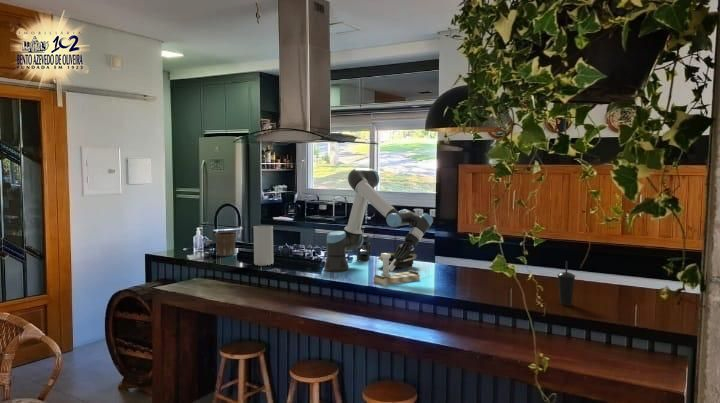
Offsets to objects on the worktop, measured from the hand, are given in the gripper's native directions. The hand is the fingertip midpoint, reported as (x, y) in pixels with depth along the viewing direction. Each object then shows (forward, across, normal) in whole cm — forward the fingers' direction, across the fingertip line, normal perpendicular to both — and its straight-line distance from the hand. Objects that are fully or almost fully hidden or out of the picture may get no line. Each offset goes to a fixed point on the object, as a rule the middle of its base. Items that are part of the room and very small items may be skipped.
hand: (389, 269), depth 279 cm
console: (+1, 0, -8) cm, 9 cm away
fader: (+4, 0, -1) cm, 4 cm away
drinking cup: (-23, -82, -33) cm, 91 cm away
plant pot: (+39, +140, +29) cm, 148 cm away
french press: (-13, +67, -23) cm, 72 cm away
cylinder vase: (+32, +90, +22) cm, 98 cm away
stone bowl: (-15, +32, -26) cm, 44 cm away
